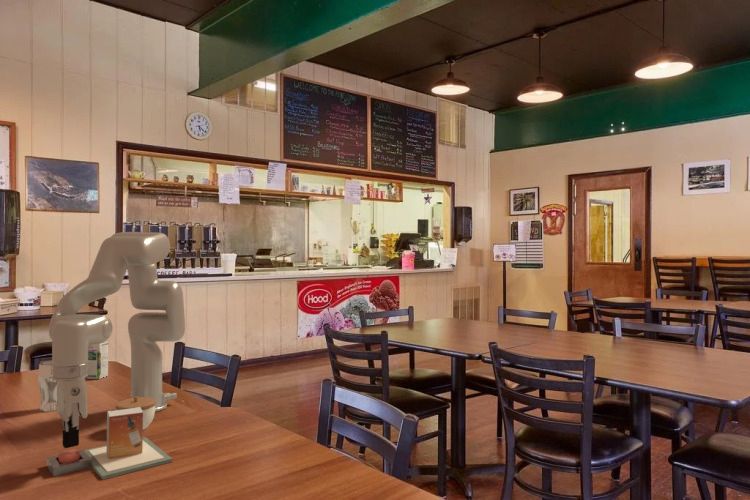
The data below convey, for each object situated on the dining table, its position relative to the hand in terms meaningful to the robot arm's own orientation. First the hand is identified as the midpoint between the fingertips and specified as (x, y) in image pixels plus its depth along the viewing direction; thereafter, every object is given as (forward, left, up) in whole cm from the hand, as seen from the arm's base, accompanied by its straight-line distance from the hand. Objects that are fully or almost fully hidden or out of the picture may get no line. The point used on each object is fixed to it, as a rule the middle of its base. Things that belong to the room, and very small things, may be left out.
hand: (70, 445), depth 130 cm
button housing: (0, 0, -5) cm, 5 cm away
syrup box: (-29, -91, -5) cm, 95 cm away
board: (-12, +3, -5) cm, 13 cm away
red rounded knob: (0, 0, -4) cm, 4 cm away
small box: (-12, +3, -4) cm, 12 cm away
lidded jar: (-21, -18, -5) cm, 27 cm away
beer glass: (-6, -55, -5) cm, 55 cm away
